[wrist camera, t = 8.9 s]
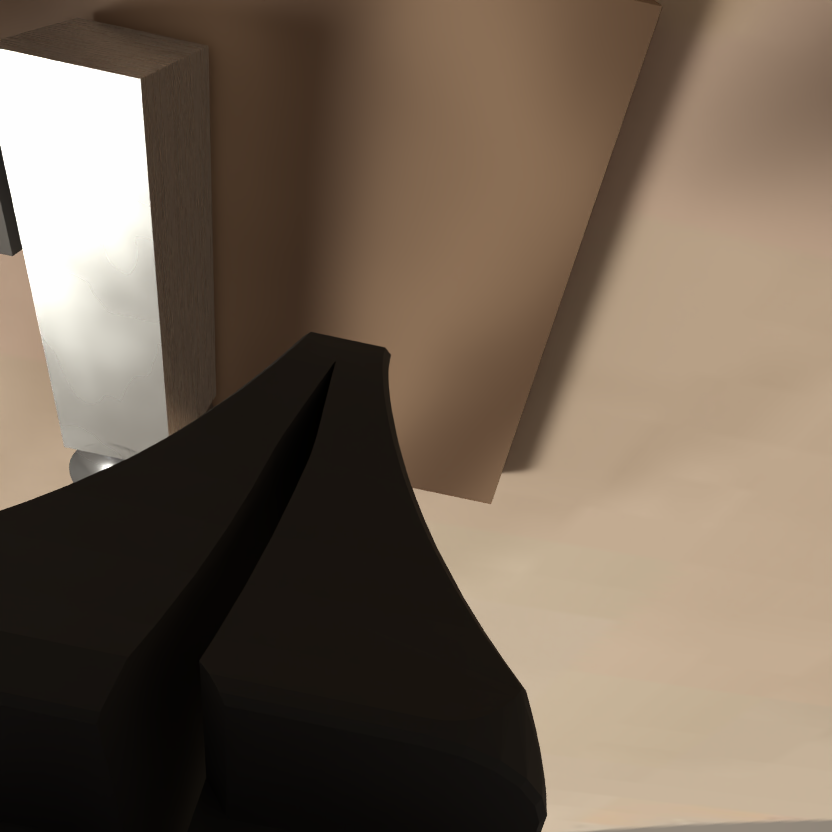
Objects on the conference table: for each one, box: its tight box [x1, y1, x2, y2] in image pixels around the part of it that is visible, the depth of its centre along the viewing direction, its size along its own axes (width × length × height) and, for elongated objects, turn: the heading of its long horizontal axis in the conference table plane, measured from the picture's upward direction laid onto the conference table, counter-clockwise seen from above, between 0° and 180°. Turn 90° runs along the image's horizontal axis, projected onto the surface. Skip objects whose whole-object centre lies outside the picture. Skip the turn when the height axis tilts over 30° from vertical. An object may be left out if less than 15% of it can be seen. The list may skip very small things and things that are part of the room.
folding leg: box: [0, 17, 216, 483], centre depth 18 cm, size 12×3×4 cm, turn 170°
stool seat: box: [0, 0, 662, 504], centre depth 18 cm, size 15×15×5 cm
